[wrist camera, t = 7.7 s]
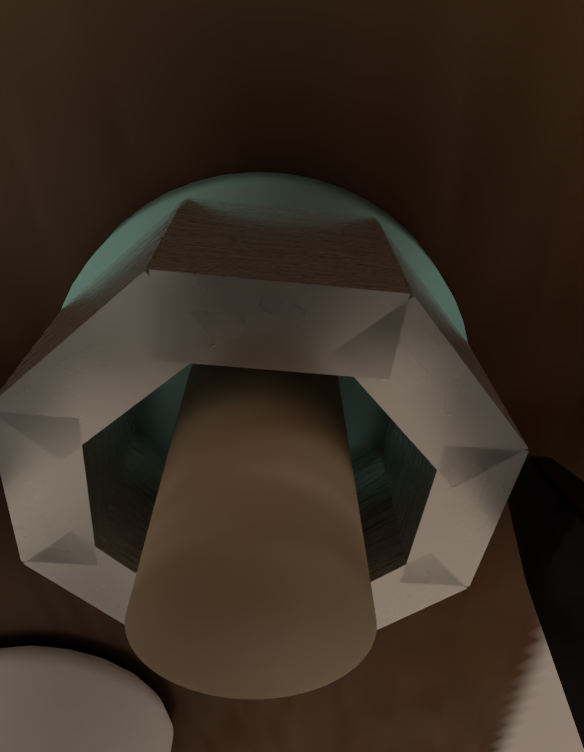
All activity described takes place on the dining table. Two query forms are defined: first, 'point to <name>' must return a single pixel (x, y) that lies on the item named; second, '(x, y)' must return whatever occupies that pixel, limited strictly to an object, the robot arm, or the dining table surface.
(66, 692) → the potion bottle
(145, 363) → the ring
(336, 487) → the post
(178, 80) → the dining table surface
